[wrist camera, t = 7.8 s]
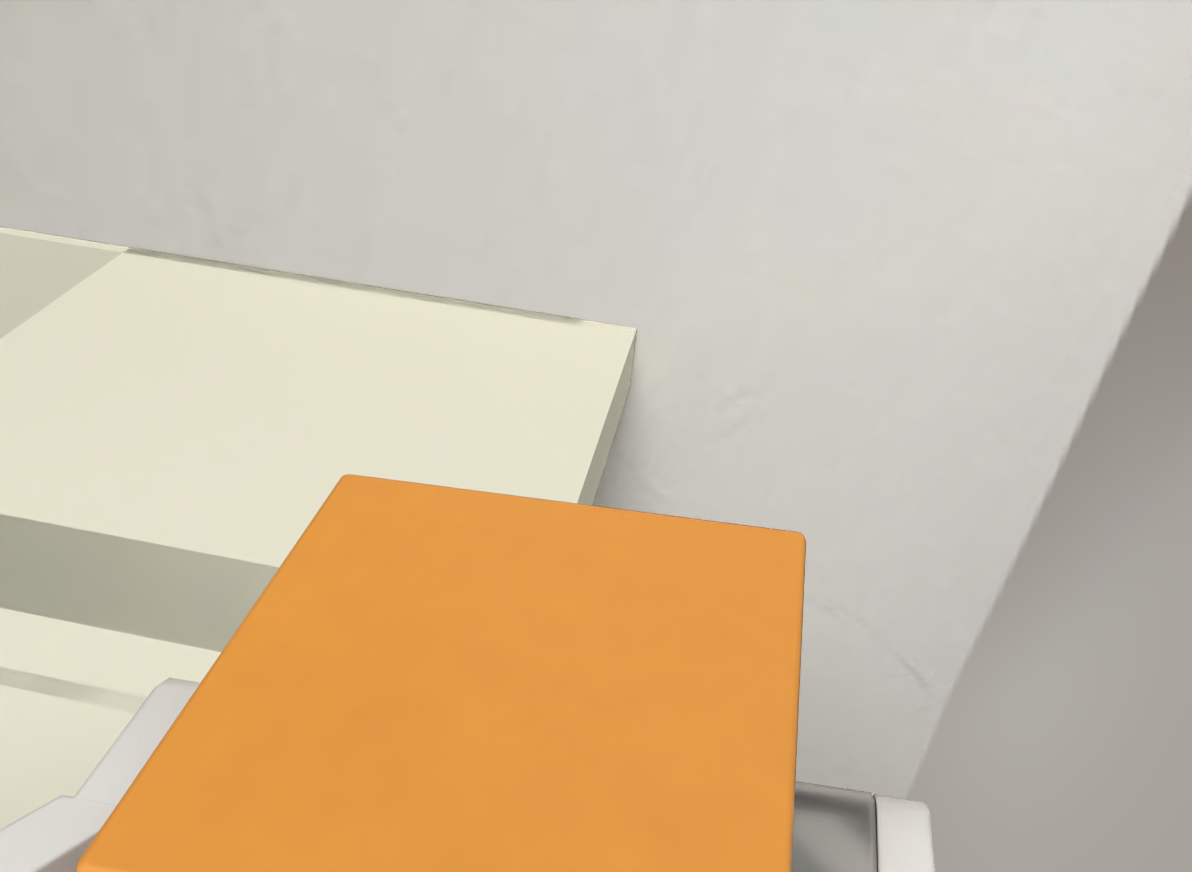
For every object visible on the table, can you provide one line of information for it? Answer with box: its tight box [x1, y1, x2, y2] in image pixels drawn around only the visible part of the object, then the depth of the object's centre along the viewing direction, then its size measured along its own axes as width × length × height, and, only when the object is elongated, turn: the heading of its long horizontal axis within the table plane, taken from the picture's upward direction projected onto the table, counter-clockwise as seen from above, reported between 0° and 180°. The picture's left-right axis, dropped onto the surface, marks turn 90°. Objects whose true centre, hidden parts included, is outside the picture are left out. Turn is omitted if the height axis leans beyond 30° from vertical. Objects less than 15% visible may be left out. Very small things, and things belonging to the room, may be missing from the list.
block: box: [76, 474, 806, 872], centre depth 11 cm, size 5×5×5 cm
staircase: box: [0, 227, 637, 830], centre depth 33 cm, size 27×18×30 cm, turn 85°
